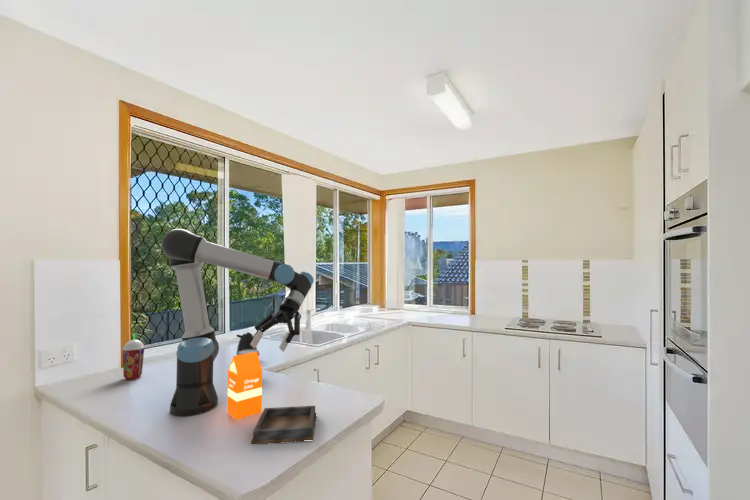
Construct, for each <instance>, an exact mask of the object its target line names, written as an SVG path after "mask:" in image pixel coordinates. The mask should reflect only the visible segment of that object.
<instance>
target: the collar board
mask: <svg viewBox="0 0 750 500" xmlns="http://www.w3.org/2000/svg"><path fill="white" fill-rule="evenodd" d="M316 414H317V412H316V405H301V406H300V405H299V406H283V407H264V409H263V410H262V412H261V415H260V416H259V419H258V421H257V423H256V424H255V427H254V429H253V431H252V439H251V441H250V445H251V444H260V445H269V444H268V443H277V444H282V443H281V442H294V443H298V442H297V441H304V440H313V438H314V439H315V432H314V430H315V431H316V424H315V422H317V416H316ZM295 441H296V442H295ZM313 441H314V440H313Z"/></svg>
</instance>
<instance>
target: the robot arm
mask: <svg viewBox="0 0 750 500" xmlns="http://www.w3.org/2000/svg"><path fill="white" fill-rule="evenodd" d="M161 249H162V251H163V253H164V255H166V257H168V261H169V266H170V268H171V269H172V270H174V271H175V275H176V281H177V286H178V287H177V288H178V292H179V299H180V305H181V312H182V316H183V317H182V318H183V323H184V329H185V331H184V333H183V334H182V336H181V340H182V341H181V342H180V343H179V344H178V345H177V350H176V352H175V353H176V387H175V390H174V393H173V396H172V399H171V402H170V405H169V413H170V414H171V415H173V416H177V417H178V416H179V417H186V416H187V417H189V416H194V415H195V416H196V415H201V414H205V413H207V412H210V411H211V410H213V409H214V408H216V407H218V404H219V403H218V402H219V401H218V400H219V397H218V394H217V391H216V388H215V385H214V361H216V358H217V357H218V355H219V351H220V345H219V343H218V340H217V338H216V332H215V329H214V328H213V327H211V325H210V322H209V315H208V309H207V302H206V297H205V291H204V284H203V279H202V278H203V277H202V271H201V267H202V265H203V264H204V263H207V264H210V265H213V266H216V267H220V268H225V269H227V270H228V269H229V270H231V271H235V272H239V273H243V274H245V275H251V276H253V277H257V278H262V279H265V280H269V281H272V282H276V283H279V284H280V285H283V286H284V287H286V288H287V289H288V291H287V293H286V294H285V296H284V298H283V300H282V301H281V303H280V305H279V308H278V311H275V310H273V309H272V310H270V312H269V314H268V315H266V316H265V317H264V318H263V319H262V320H261V321H260V322H258V323H257V324H256V325H255V326H254V329H255V330H256V332H255V334H254V335H253V337H254V339H253V340H252V342H251V343H250V345H251V346H252V347H253V348H256V347H258V344H259V342H260V340H261V339H262V337H263V336H264V333H265V332H266V331H268V330H269V329H270V328H272V327H273V326H275V325H278V324H286V325H287V328H288V332H286V334H285V336H284V337H283V339H282V341H281V343H280V345H279V347H278V348H279V350H281V352H285V350H286V348H287V347H288V345H289V344H290V343H291V342H292V340H293V338H294V337H295V336H299V335H300V332H301V326H300V325H301V323H300V322H301V318H302V315H301V313H300V312H299V310H300V308H301V306H302V304H303V303H304V301H305V298H306V297H307V296H308V293H309V292H310V290H311V288H312V285H313V283H314V277H313V276H312V274H310V273H309V272H306V271H301V272H297V271H295V270H294V268H293V267H292V266H291V265H290V264H287V263H283V261H279V259H275V260H271V259H268V258H264V257H262V256H258V255H254V254H250V253H248V252H244V251H242V250H241V251H240V250H237V249H234V248H231V247H227V246H223V245H220V244H217V243H213V242H210V241H207V239H206V238H205V237H203V236H199V235H197V234H195V233H193V232H192V231H189V230H186V229H183V228H176V229H175V228H174V229H172V230H169V231H168V232H166V233H165V234H164V235H163V237H162V240H161ZM293 319H294V322H292V320H293ZM293 324H294V325H293Z"/></svg>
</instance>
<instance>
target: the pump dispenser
mask: <svg viewBox="0 0 750 500" xmlns="http://www.w3.org/2000/svg"><path fill="white" fill-rule="evenodd" d="M236 337H237V338H240V339H239V341H238V344H237V348H236V355H238V352H239V351H242V350H247V349H256V350H258V349H257V348H258V346H256V348H253V347H252V346H251V345H250V343H251V342H252V340H253V339H254V335H253V334H252V332H249V331H246V332H244V333H242V335H241V334H236Z"/></svg>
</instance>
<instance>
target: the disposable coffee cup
mask: <svg viewBox="0 0 750 500" xmlns="http://www.w3.org/2000/svg"><path fill="white" fill-rule="evenodd" d="M253 352H257V353H258V357H260V352H259V350H258V349H257V350H256V349H247V350H242V351H239V352H238V355H242V354H247V353H253Z"/></svg>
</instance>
